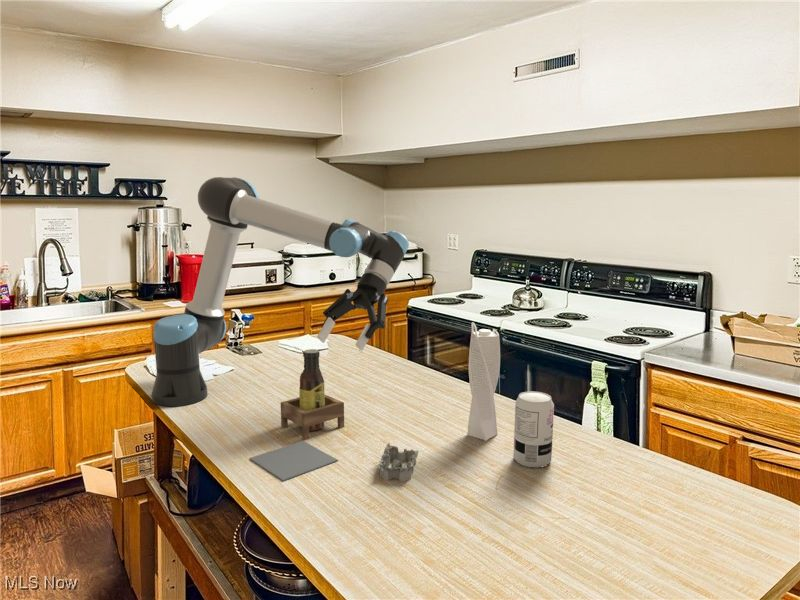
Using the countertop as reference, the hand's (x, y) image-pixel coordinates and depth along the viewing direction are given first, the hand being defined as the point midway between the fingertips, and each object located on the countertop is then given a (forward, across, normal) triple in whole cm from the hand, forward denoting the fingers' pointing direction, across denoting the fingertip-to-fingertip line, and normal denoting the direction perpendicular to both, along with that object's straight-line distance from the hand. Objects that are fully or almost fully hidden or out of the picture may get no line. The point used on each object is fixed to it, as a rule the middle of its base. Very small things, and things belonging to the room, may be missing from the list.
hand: (339, 343), depth 155 cm
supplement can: (+10, -52, -18) cm, 56 cm away
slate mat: (+32, -10, +4) cm, 34 cm away
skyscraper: (+6, -36, -23) cm, 43 cm away
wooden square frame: (+21, 0, -7) cm, 22 cm away
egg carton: (+25, -31, -4) cm, 40 cm away
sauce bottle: (+21, 0, -7) cm, 22 cm away
